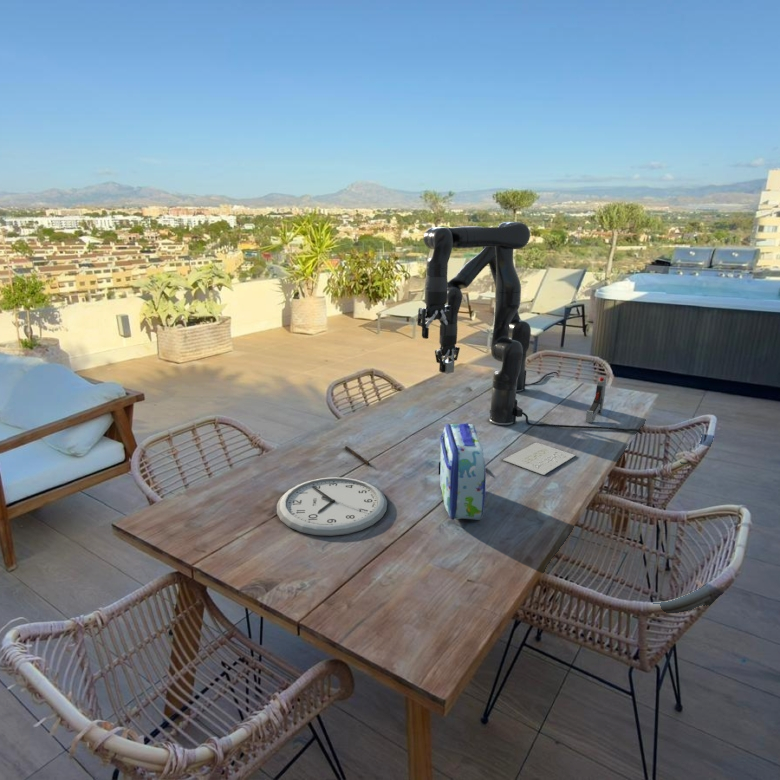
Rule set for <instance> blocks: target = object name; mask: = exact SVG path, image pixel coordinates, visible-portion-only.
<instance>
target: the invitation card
mask: <svg viewBox="0 0 780 780" xmlns="http://www.w3.org/2000/svg"><path fill="white" fill-rule="evenodd" d="M576 456H577V455H576V454H573V453H570V452H567V451H565V450H561V449H558V448H555V447H552V446H549V445H546V444H543V443H539V442H534V443H532V444H529V445H528V446H526V447H524V448H522V449H520V450H518V451H516V452H514V453H512V454H510V455H509V456H507V457H505V458H503V459H502V461H503V462H506V463H509V464H511V465H514V466H518V467H520V468H523V469H525V470H528V471H531V472H534V473H536V474H539V475H541V476H545V475H547V474H548V473H550V472H552V471H554V469H556V468H558V467H559V466H561V465H563V464H564V463H566V462H568V461H570V460H571V459H572V458H574V457H576Z"/></svg>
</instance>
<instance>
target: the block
mask: <svg viewBox="0 0 780 780" xmlns="http://www.w3.org/2000/svg"><path fill="white" fill-rule="evenodd" d="M442 361H443V360H442ZM438 364H439V366H438V367H439V368H438V372H439V373H443V374H446V375H449V374H454V373H455V361H450V360H448V359H446V362H445V372H440V363H438Z"/></svg>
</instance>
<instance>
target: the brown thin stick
mask: <svg viewBox="0 0 780 780" xmlns="http://www.w3.org/2000/svg"><path fill="white" fill-rule="evenodd" d="M344 449H345V450H346V451H348V452H349V453H350V454H352V455H353V456H355V457H356V458H358V459H359V460H361V461H362V462H363V463H364V464H366V465H370V461H368V460H367V459H366V458H364V457H363V456H361V455H360V454H358V453H357V452H356V451H354V450H353V449H352V448H350V447H348V446H347V445H345V446H344Z"/></svg>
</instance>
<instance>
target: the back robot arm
mask: <svg viewBox="0 0 780 780" xmlns="http://www.w3.org/2000/svg"><path fill="white" fill-rule="evenodd" d="M487 266H489V269H490V273H491V276H492V279H493V284H494V289H496V250H495V246H488V247H482V250H481V251H480V252H479V253H478V254H477V255H475V256H474V257H472V258H471V259H470V260H468V262H466V263H465V264H464V265H463V267H462V268H461V269H460V270H459V271H458V272H457V274H456V275H455V276H454V277H453V278H451V279H450V280H449V281H448V286H447V303H446V305H449V306H451V307H452V308H451V323H448V324H447V326H446V335H445V336H441V335H440V334H439V339H438V340H439V341H438V342H439V345H440V346H439V349H435V350H434V356H435V362H436V363H438V364H440V372H439V373H442V372H445V362H446V360H450V361H454V362H455V361H458V358H459V354H460V349H461V348H460V347H458V346H456V345H457V344H458V343H457V342H458V317H459V315H458V314H459V311H460V309H461V305H462V301H463V292H462V290H463V289H467V288H468V287H469V286H470V285H471V284H472V283H473V281H474V280H475V279H476V278H477V277H478V275H480V273H481V272H482V271H483V270H484V269H485V268H486V267H487ZM447 319H448V316H447ZM531 333H532V328H531V325H530V324H529V323H528V322H527V321H525V320H522V319H521V317H520V314H519V309H518V310H517V312H516V314H515V315H514V317H513V319H512V321H511V323H510V327H509V338H510V339H512V340H515V341H518V342H520V343H521V345H522V348H523V356H522V363H521V370H520V374H519V376H518V379H517V389H516V393H519V392H523V391H525V389H526V386H533V385H536V384H538V383H540V382H542V381H543V380H544V379H545V378H546V377H547V376H550V375H553V374H556V375H559V373H558V372H557V371H550V372H549V373H546V374H544V375H543V376H542V377H541V378H540V379H539V380H538V381H534V382H532V383H528V384H527V383H526V380H527V369H526V362H527V352H528V351H529V348H530V342H531ZM442 360H443V361H442Z"/></svg>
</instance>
